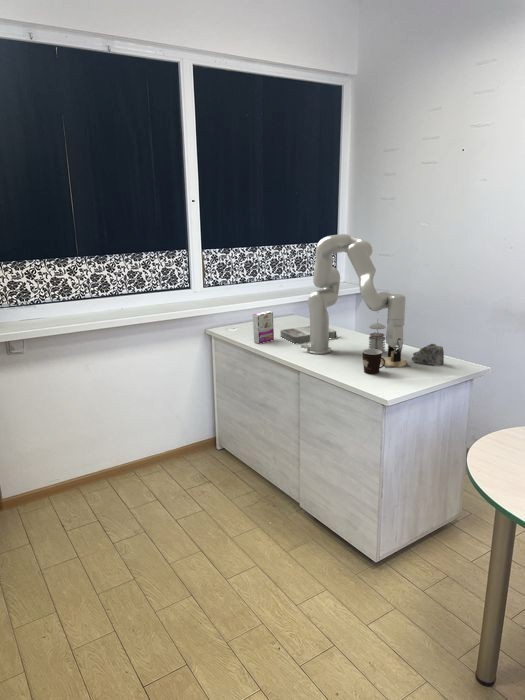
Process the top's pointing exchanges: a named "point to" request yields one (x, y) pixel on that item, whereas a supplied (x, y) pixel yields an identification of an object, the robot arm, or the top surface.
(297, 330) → the flat grey box
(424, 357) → the mineral rock
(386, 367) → the mat
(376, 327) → the french press
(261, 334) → the candy bar box
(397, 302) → the robot arm
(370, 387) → the top surface
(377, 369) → the coffee mug
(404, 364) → the lid
